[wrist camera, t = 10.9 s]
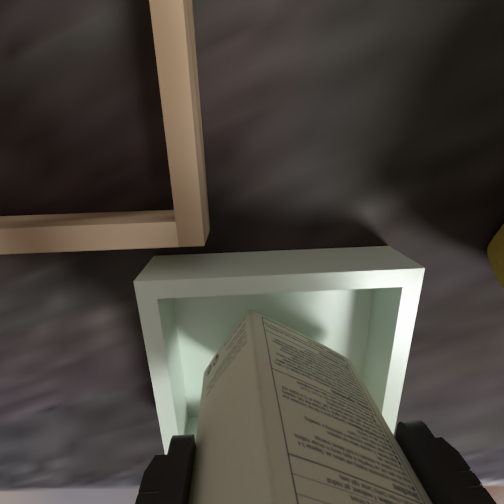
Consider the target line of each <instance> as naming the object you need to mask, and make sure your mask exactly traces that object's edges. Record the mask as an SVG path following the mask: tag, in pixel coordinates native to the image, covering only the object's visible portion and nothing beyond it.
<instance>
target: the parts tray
mask: <svg viewBox="0 0 504 504" xmlns="http://www.w3.org/2000/svg"><path fill="white" fill-rule="evenodd" d="M424 271H425V268H424V267H422V266H421V265H419V264H417V263H416V262H414V261H413V260H411V259H409V258H408V257H406V256H404V255H403V254H401V253H400V252H398V251H396V250H395V249H393V248H391V247H390V246H374V247H350V248H327V249H303V250H280V251H256V252H233V253H210V254H186V255H163V256H153V258H152V259H151V260H150V261H149V263H148V264H147V265H146V266H145V268H144V269H143V270H142V271H141V273H140V274H139V275H138V276H137V278H136V279H135V280H134V281H133V282H134V288H135V293H136V299H137V304H138V310H139V315H140V321H141V326H142V331H143V337H144V342H145V348H146V353H147V359H148V364H149V370H150V375H151V381H152V386H153V392H154V397H155V402H156V408H157V413H158V419H159V424H160V430H161V435H162V441H163V446H164V452H165V455H167V453H168V449H169V444H170V440H171V438H172V436H173V435H188V434H194V437H195V443H196V435H197V426H198V417H199V408H200V400H201V392H202V385H203V376H204V372H205V370H206V368H207V367H208V365H209V364H210V362H211V361H212V359H213V357H214V356H215V354H216V353H217V351H218V350H219V348H220V347H221V346H222V344H223V343H224V341H225V340H226V339H227V337H228V336H229V335H230V333H231V332H232V330H233V329H234V328H235V326H236V325H237V324H238V323H239V321H240V320H241V319H242V317H243V316H244V314H245V313H246V312H247V311H248V310H250V309H251V310H254V311H256V312H258V313H260V314H262V315H265V316H267V317H269V318H271V319H273V320H275V321H277V322H279V323H281V324H283V325H285V326H287V327H289V328H291V329H294V330H295V331H297V332H299V333H301V334H303V335H305V336H307V337H309V338H311V339H313V340H315V341H317V342H319V343H321V344H323V345H325V346H326V347H328V348H330V349H332V350H334V351H336V352H338V353H339V354H341V355H343V356H344V357H346V358H348V359H350V360H351V361H352V363H353V365H354V367H355V368H356V370H357V372H358V374H359V376H360V377H361V379H362V381H363V383H364V384H365V386H366V388H367V390H368V391H369V393H370V395H371V397H372V398H373V400H374V402H375V404H376V405H377V407H378V409H379V411H380V412H381V414H382V416H383V418H384V419H385V421H386V423H387V425H388V427H389V428H390V430H391V432H392V433H393V435H394V430H395V424H396V419H397V414H398V409H399V403H400V398H401V393H402V387H403V382H404V377H405V371H406V366H407V361H408V356H409V350H410V345H411V340H412V334H413V329H414V324H415V318H416V313H417V308H418V303H419V297H420V292H421V287H422V281H423V276H424Z"/></svg>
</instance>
